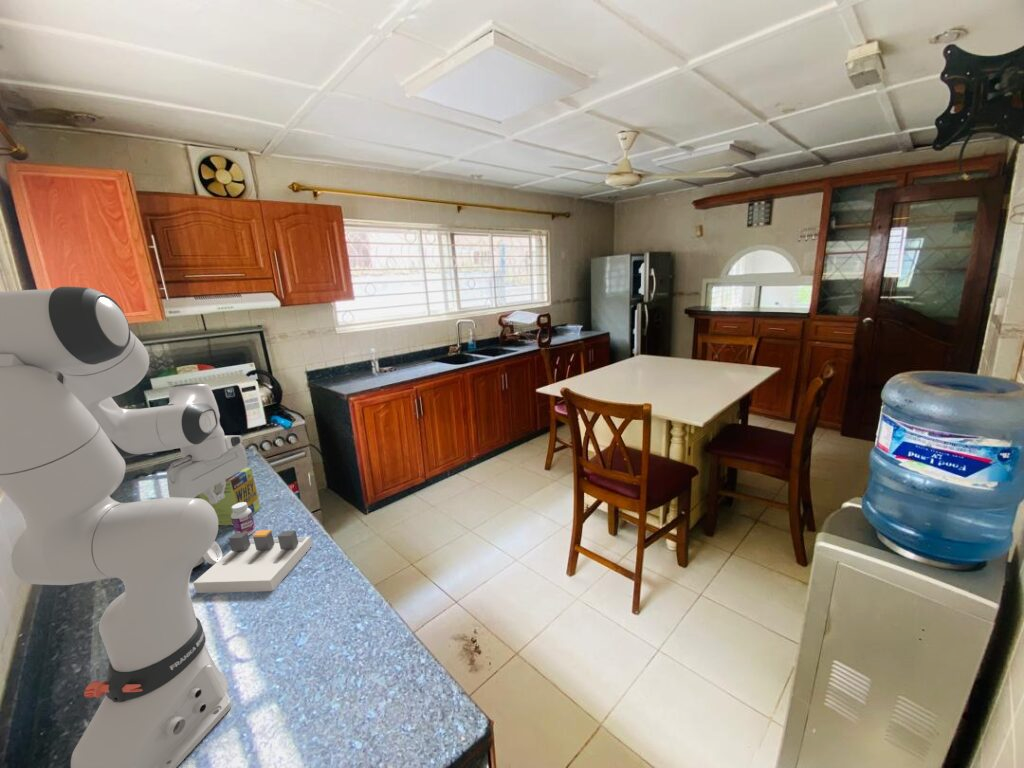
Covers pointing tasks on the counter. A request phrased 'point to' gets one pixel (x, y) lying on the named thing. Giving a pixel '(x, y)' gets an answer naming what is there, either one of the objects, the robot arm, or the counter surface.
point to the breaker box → (252, 568)
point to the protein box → (235, 496)
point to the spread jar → (209, 556)
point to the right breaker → (288, 540)
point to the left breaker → (239, 541)
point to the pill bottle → (242, 519)
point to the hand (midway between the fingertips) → (217, 501)
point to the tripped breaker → (263, 539)
